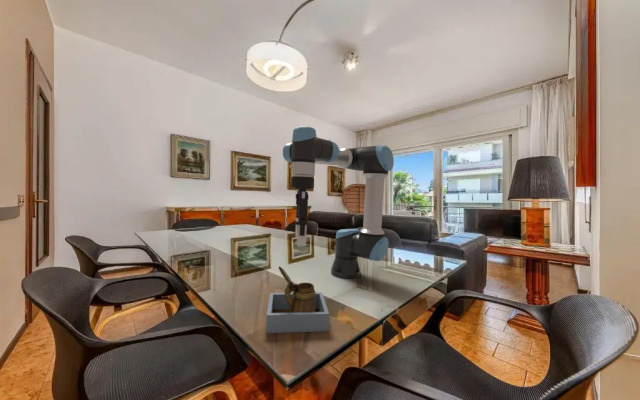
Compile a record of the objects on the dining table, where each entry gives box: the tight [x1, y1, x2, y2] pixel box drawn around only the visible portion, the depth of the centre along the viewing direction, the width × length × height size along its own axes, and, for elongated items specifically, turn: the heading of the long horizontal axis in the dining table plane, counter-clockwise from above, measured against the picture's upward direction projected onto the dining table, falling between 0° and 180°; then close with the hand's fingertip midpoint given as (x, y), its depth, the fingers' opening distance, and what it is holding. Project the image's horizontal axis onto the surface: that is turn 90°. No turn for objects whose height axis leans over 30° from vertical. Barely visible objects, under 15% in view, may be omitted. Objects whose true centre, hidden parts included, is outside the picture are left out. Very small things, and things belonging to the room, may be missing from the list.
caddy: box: [265, 291, 330, 334], centre depth 83 cm, size 19×15×6 cm
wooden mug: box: [278, 266, 317, 313], centre depth 83 cm, size 9×14×18 cm, turn 103°
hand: (300, 241), depth 82 cm, fingers open, 13 cm apart
